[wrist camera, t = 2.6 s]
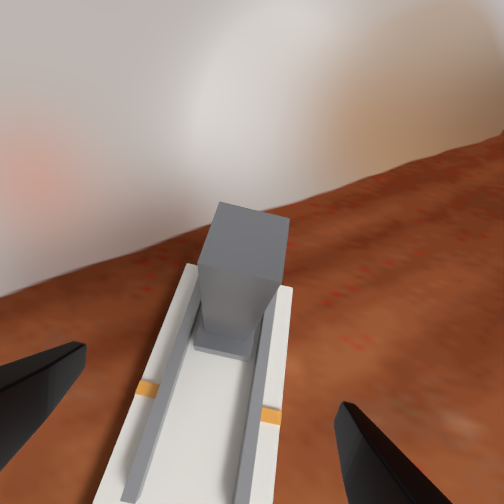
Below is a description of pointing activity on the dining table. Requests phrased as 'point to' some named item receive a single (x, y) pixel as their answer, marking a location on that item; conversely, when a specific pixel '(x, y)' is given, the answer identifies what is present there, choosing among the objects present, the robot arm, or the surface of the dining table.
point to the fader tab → (238, 278)
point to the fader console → (202, 414)
